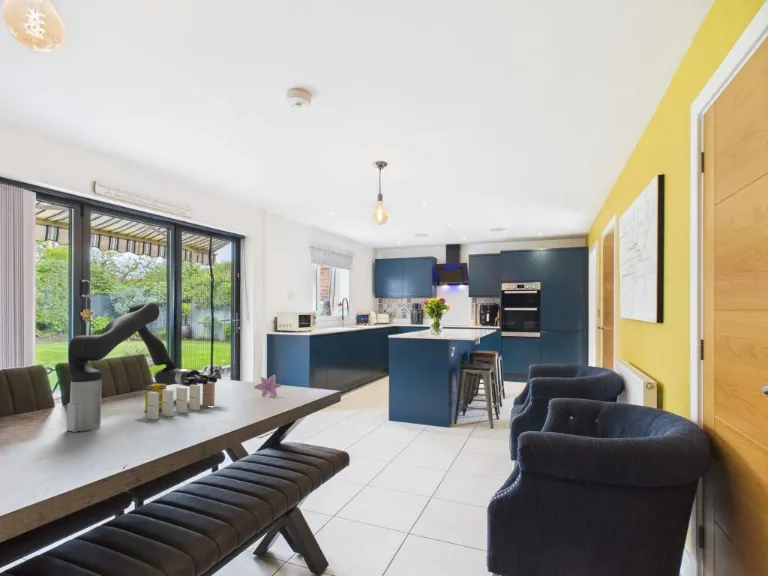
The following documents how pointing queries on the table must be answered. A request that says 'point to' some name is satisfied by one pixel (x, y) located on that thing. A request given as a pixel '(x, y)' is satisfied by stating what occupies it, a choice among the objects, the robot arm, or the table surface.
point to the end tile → (152, 405)
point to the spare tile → (208, 394)
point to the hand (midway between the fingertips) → (211, 380)
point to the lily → (268, 386)
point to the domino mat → (161, 417)
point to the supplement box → (155, 388)
